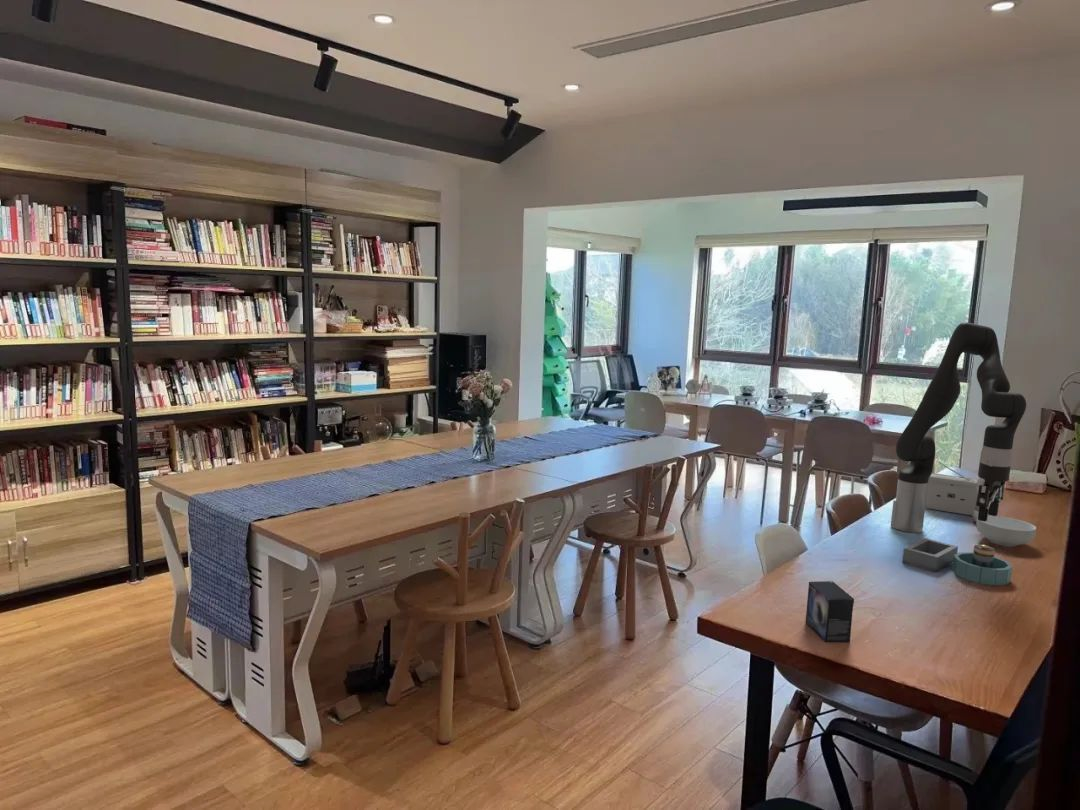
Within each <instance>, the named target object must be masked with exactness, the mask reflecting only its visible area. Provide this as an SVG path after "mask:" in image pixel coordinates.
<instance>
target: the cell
mask: <svg viewBox="0 0 1080 810" xmlns="http://www.w3.org/2000/svg"><path fill="white" fill-rule="evenodd" d="M995 549H996V548H994V547H992V546H989V545H986V544H975V545H974V546H973V552H972V553H973V561H972V564H973V565H976V566H980V567H986V568H992V566H993V558H994V557H995V551H996V550H995Z"/></svg>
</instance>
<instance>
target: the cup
mask: <svg viewBox="0 0 1080 810" xmlns="http://www.w3.org/2000/svg"><path fill="white" fill-rule="evenodd" d="M973 553H974V552H969V551H966V552H965V551H964V552H957V554H955V555H954V560H953V563H952V570H951V571H952V572H953V573H954V575H956V576H958V577H960V578H961V579H963V580H966V581H970V582H974V583H977V584H981V585H989V586H1005V585H1006V586H1007V585H1008V584H1010V583H1011V581H1012V575H1013V574H1012V572H1013V565H1012V564H1011V563H1010V562H1009V561H1007V560H1005V559H1003V558H1001V557H997V556H994V558H993V566H992V568H986V567H980V566H976V565H973V564H972V561H973Z"/></svg>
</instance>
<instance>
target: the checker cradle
mask: <svg viewBox="0 0 1080 810" xmlns="http://www.w3.org/2000/svg"><path fill="white" fill-rule="evenodd" d="M958 550H959V546H958V545H953V544H950V543H946V542H941V541H937V540H935V539H929V538H926V537H925V538H923V539H920V540H919V541H916V542H915V543H911V544H910V545H908V546H905V547H904V548H903V552H902V553H903V554H902V564H906V565H910V566H912V567H916V568H919V569H924V570H927V571H931V572H934V573H937V572H939V571H941V570H943V569H944V568H946V567H948V566H949V565H951V564H953V560H954V555H955V554H957V553H958Z"/></svg>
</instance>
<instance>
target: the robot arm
mask: <svg viewBox="0 0 1080 810" xmlns="http://www.w3.org/2000/svg"><path fill="white" fill-rule="evenodd" d="M998 342H999V341H998V337H997V334H996V332H995V330H994V329H993V328H992V327H989V326H986V325H980V324H977V323H972V322H966V321H963V322H961V323H959V324H958V325H957V326H956V328H955V329H954V330H953V333H952V334H951V337H950V339H949V342H948V345H947V347H946V350H945V351H944V354H943V357H942V359H941V361H940V364H939V366H938V368H937V370H936V371H935V374H934V375H933V377H932V379H931V381H930V382H929V385H928V386H927V387H926V388H927V389H926V391H925V392H924V394H923V396H922V398H921V399H922V400H921V401H920V403H919V405H918V407H917V408H916V410H915V412H914V414H913V416H912V418H911V420H910V421H909V423H908V424H907V425H906V427H905V428H904V430H903V432H901V434H900V436H899V437H898V440H897V442H896V446H895V452H896V453H895V454H896V455H897V457H898V459H900V460H901V461H904V462H909V464H908V465H907V466H906V467H904V468H902V469H900V470H899V472H898V477H897V487H896V496H895V499H894V500H893V502H892V508H891V509H892V511H891V520H890V527H891V528H893V529H896V530H897V531H900V532H905V533H911V534H912V533H913V534H917V533H922V532H923V531H924V530H923V528H924V520H925V514H926V508H925V505H926V497H927V488H928V480H929V477H930V475H931V473H933V468H934V464H935V463H934V462H935V460H934V459H935V456H936V443H935V440H934V438H933V437H932V436H930V435H929V434H927V433H928V432H929V430H931V428H932V427H934V426H935V425H936V424H937V423H938V422H940V421H941V420H943V418H945V417H946V416H947V415H948V414H949V413H950V412H951V411H952V409H953V408H954V406H955V404H956V403H957V400H958V399H959V396H960V395H961V389H962V388H961V382H960V377H959V373H958V372H959V371H958V363H959V359H960V357H961V355H962V354H963V353H964V354H968V355H969V354H970V355H973V356H980V358H982V360H983V361H982V362H981V363H980V364H979V366H978V367H977V369H976V379H977V382H978V385H979V387H980V389H981V404H980V406H981V407H980V408H981V411H982V412H983V414H985V415H986V416H988V417H991V418H1002V419H1003V418H1004V420H1003V421H1001V422H1000V423H997V424H990V425H987V426H986V428H985V430H984V436H983V441H982V442H983V444H982V448H981V452H980V457H979V465H978V472H977V476H978V477H979V478H982V479H984V480H985V482H984V485H980V486H979V490H978V496H977V503H976V506H978V507H979V513H978V520H980V521H984V522H985V521H987V518H988V514H989V515H992V516H998V515H999V514H998V513H999V507H1000V504H1001V502H1002V501H1003V500H1004V494H1005V493H1004V492H1005V487H1006V486H1005V484H1006V482H1008V481H1009V480H1010V474H1011V467H1012V459H1013V446H1014V439H1015V434H1016V431H1017V429H1018V426H1019V425H1020V422H1021V420H1022V418H1023V417H1024V415H1025V412H1026V409H1027V400H1026V398H1025V397H1024V396H1023V394H1021V393H1018V392H1010V389H1011V385H1010V381H1009V378H1008V377H1007V375H1006V373H1005V370H1004V368H1003V365H1002V361H1001V354H1000V347H999V343H998ZM983 501H985V503H983Z"/></svg>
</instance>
